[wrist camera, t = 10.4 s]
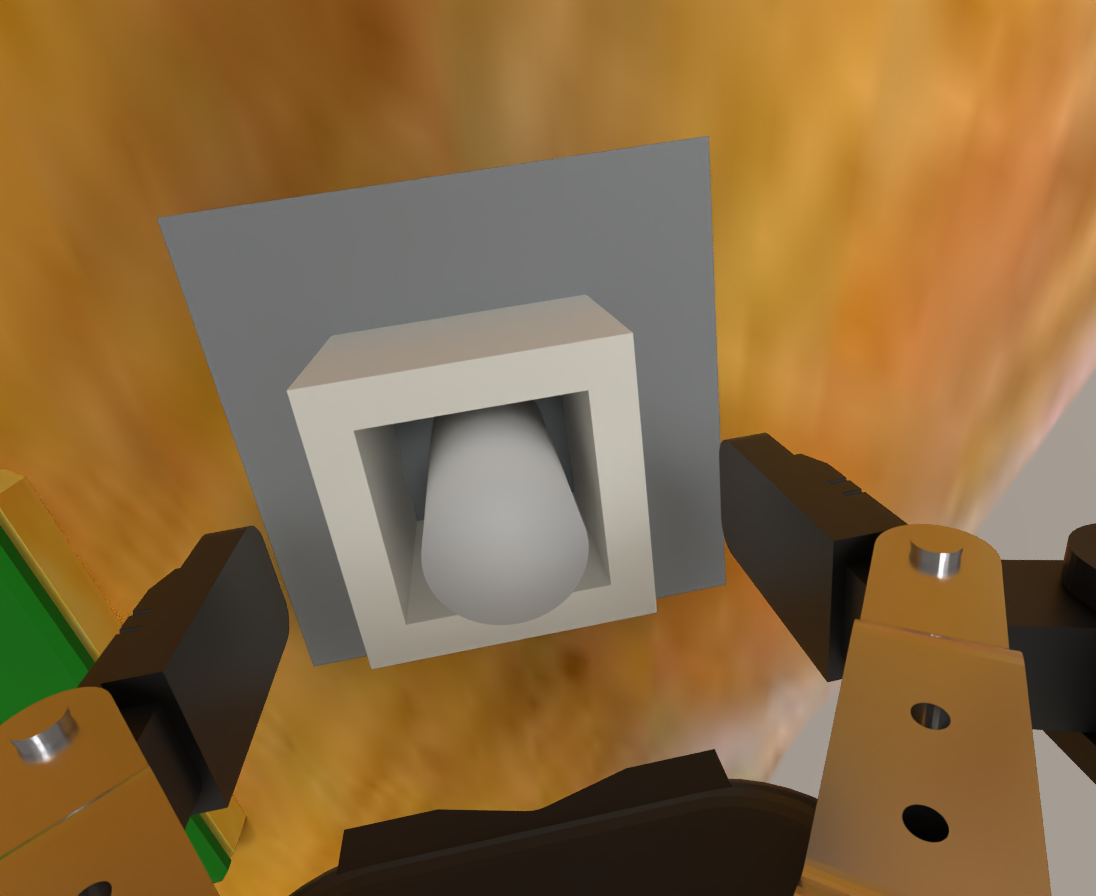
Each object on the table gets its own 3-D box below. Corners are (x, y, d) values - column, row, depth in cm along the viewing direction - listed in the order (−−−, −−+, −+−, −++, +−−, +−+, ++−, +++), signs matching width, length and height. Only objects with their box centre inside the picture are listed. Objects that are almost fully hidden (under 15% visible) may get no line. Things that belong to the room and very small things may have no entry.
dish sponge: (52, 873, 22) (7, 949, 20) (-240, 535, 17) (-347, 589, 15) (253, 812, 22) (231, 881, 20) (27, 458, 17) (-37, 499, 15)
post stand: (183, 214, 15) (-44, 238, 8) (686, 140, 16) (864, 105, 9) (323, 632, 20) (253, 873, 13) (707, 557, 21) (835, 745, 14)
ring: (331, 335, 15) (286, 390, 11) (585, 294, 16) (633, 332, 11) (390, 556, 17) (371, 669, 13) (610, 515, 18) (657, 612, 14)
